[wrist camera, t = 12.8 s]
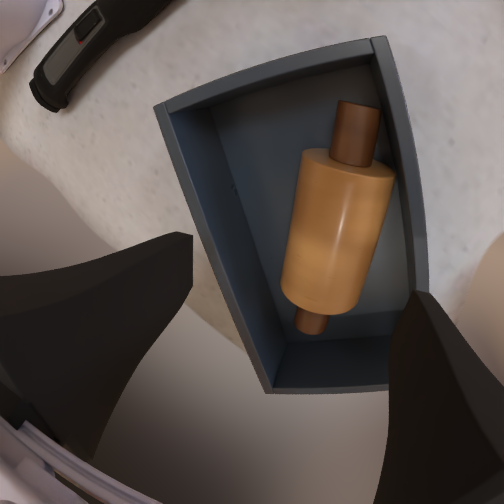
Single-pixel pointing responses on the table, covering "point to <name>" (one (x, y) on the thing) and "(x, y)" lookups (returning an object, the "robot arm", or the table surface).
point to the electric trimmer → (87, 46)
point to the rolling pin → (336, 219)
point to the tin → (282, 201)
